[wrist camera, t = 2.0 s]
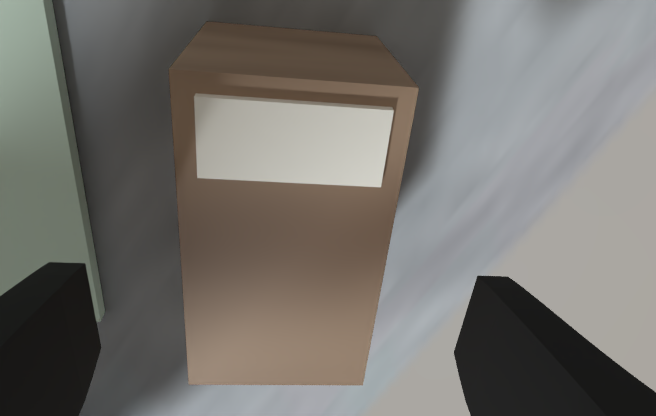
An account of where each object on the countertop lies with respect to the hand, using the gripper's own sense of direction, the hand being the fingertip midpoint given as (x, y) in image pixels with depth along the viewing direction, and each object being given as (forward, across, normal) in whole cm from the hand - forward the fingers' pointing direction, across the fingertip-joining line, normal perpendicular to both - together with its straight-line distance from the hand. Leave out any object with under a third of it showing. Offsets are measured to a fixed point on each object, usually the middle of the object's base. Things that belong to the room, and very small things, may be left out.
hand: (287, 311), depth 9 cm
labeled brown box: (+7, 0, 0) cm, 7 cm away
